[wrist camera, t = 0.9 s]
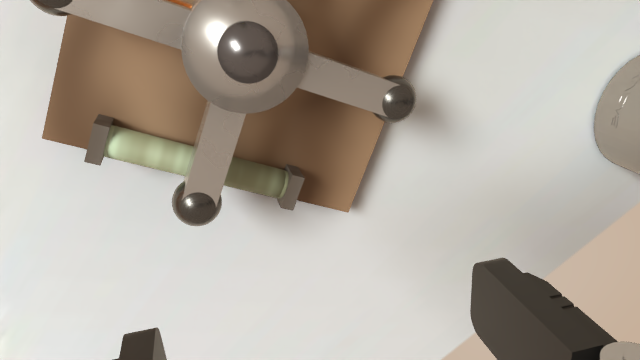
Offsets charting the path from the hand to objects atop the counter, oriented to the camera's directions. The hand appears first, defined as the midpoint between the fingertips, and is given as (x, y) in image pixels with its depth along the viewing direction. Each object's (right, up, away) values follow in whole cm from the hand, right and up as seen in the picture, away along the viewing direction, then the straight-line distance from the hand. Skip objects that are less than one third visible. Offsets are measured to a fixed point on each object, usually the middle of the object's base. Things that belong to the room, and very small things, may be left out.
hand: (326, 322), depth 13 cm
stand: (-4, +12, +18) cm, 22 cm away
